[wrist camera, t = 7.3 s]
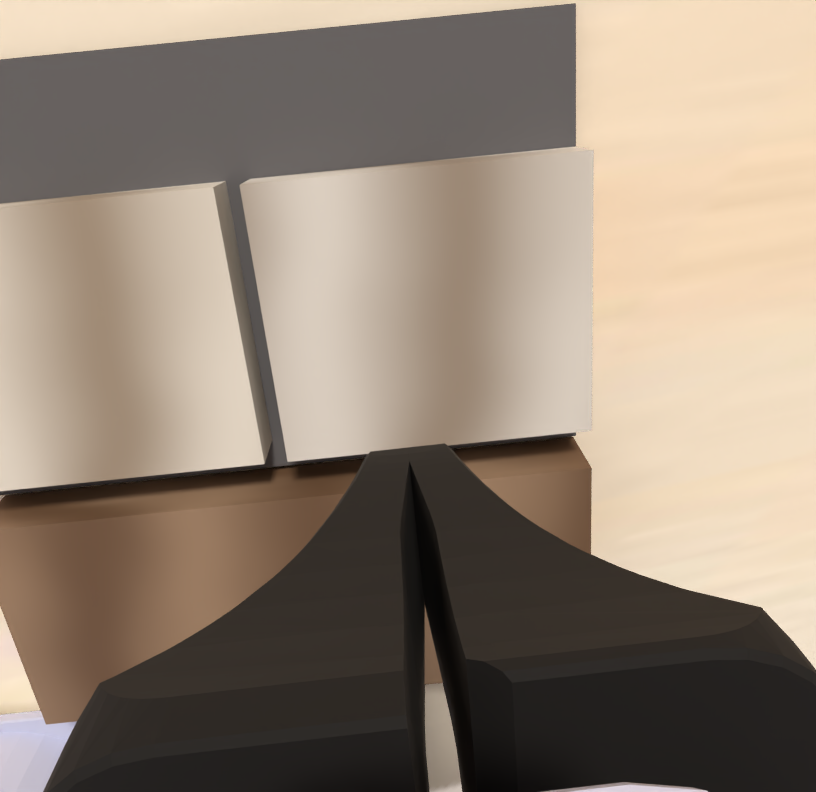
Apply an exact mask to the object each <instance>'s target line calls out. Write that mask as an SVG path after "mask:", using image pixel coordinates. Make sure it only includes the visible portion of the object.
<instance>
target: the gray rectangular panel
mask: <svg viewBox="0 0 816 792" xmlns="http://www.w3.org/2000/svg"><path fill="white" fill-rule="evenodd" d="M575 146H576V3H575V4H564V5H554V6H544V7H534V8H523V9H513V10H503V11H493V12H483V13H472V14H462V15H452V16H442V17H431V18H421V19H411V20H401V21H390V22H380V23H370V24H360V25H350V26H339V27H329V28H319V29H309V30H298V31H288V32H278V33H268V34H257V35H247V36H237V37H227V38H217V39H206V40H196V41H186V42H176V43H165V44H155V45H145V46H135V47H124V48H114V49H104V50H94V51H83V52H73V53H63V54H53V55H43V56H32V57H22V58H12V59H2V60H0V204H1V203H11V202H21V201H31V200H41V199H51V198H61V197H72V196H82V195H92V194H102V193H112V192H122V191H132V190H142V189H152V188H162V187H172V186H182V185H192V184H202V183H212V182H222V181H226V185H227V191H228V196H229V202H230V207H231V213H232V218H233V224H234V230H235V235H236V241H237V246H238V252H239V257H240V263H241V269H242V274H243V280H244V285H245V291H246V297H247V302H248V308H249V313H250V319H251V324H252V330H253V336H254V341H255V347H256V352H257V358H258V364H259V369H260V375H261V380H262V386H263V391H264V397H265V403H266V408H267V414H268V419H269V425H270V430H271V436H272V442H271V445H270V448H269V452H268V455H267V458H266V461H265V464H261V465H251V466H241V467H232V468H222V469H212V470H202V471H193V472H183V473H173V474H164V475H154V476H144V477H134V478H125V479H115V480H105V481H96V482H86V483H76V484H66V485H57V486H47V487H37V488H28V489H18V490H8V491H0V495H4V494H13V493H23V492H33V491H43V490H52V489H62V488H72V487H81V486H91V485H101V484H110V483H120V482H130V481H140V480H149V479H159V478H169V477H178V476H188V475H198V474H208V473H217V472H227V471H237V470H246V469H256V468H266V467H275V466H285V465H295V464H305V463H314V462H324V461H334V460H343V459H353V458H363V457H366V456H367V455H368V454H361V455H351V456H341V457H332V458H322V459H312V460H303V461H293V462H288V461H287V456H286V450H285V444H284V438H283V433H282V427H281V421H280V415H279V410H278V404H277V398H276V392H275V387H274V381H273V375H272V369H271V364H270V358H269V352H268V346H267V341H266V335H265V329H264V323H263V318H262V312H261V306H260V300H259V295H258V289H257V283H256V277H255V271H254V266H253V260H252V254H251V248H250V243H249V237H248V231H247V225H246V220H245V214H244V208H243V202H242V197H241V191H240V184H242V183H244V182H245V181H247V180H249V179H253V178H263V177H274V176H284V175H294V174H304V173H314V172H324V171H334V170H344V169H354V168H364V167H374V166H384V165H394V164H404V163H414V162H424V161H434V160H444V159H454V158H465V157H475V156H485V155H495V154H505V153H515V152H525V151H535V150H545V149H555V148H565V147H575ZM567 436H576V432H574V433H565V434H555V435H545V436H536V437H526V438H516V439H507V440H497V441H487V442H477V443H468V444H458V445H448V446H449V447H450V448H460V447H470V446H479V445H489V444H499V443H508V442H518V441H528V440H538V439H547V438H557V437H567Z"/></svg>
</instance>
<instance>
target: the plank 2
mask: <svg viewBox="0 0 816 792" xmlns="http://www.w3.org/2000/svg"><path fill="white" fill-rule="evenodd" d="M593 161H594V150H592V149H587V148H582V147H576V146H575V147H565V148H555V149H545V150H535V151H525V152H515V153H505V154H495V155H485V156H475V157H465V158H454V159H444V160H434V161H424V162H414V163H404V164H394V165H384V166H374V167H364V168H354V169H344V170H334V171H324V172H314V173H304V174H294V175H284V176H274V177H263V178H253V179H249V180H247V181H245V182H244V183H242V184H240V191H241V197H242V202H243V208H244V214H245V220H246V225H247V231H248V237H249V243H250V248H251V254H252V260H253V266H254V271H255V277H256V283H257V289H258V295H259V300H260V306H261V312H262V318H263V323H264V329H265V335H266V341H267V346H268V352H269V358H270V364H271V369H272V375H273V381H274V387H275V392H276V398H277V404H278V410H279V415H280V421H281V427H282V433H283V438H284V444H285V450H286V456H287V461H288V462H293V461H303V460H312V459H322V458H332V457H341V456H351V455H361V454H369V453H370V452H371V451H380V450H389V449H398V448H407V447H416V446H425V445H434V444H443V443H445V444H446V445H458V444H468V443H477V442H487V441H497V440H507V439H516V438H526V437H536V436H545V435H555V434H565V433H574V432H584V431H592V325H593Z"/></svg>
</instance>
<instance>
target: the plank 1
mask: <svg viewBox="0 0 816 792" xmlns="http://www.w3.org/2000/svg"><path fill="white" fill-rule="evenodd" d="M271 442H272V436H271V430H270V425H269V419H268V414H267V408H266V403H265V397H264V391H263V386H262V380H261V375H260V369H259V364H258V358H257V352H256V347H255V341H254V336H253V330H252V324H251V319H250V313H249V308H248V302H247V297H246V291H245V285H244V280H243V274H242V269H241V263H240V257H239V252H238V246H237V241H236V235H235V230H234V224H233V218H232V213H231V207H230V202H229V196H228V191H227V185H226V181H222V182H212V183H202V184H192V185H182V186H172V187H162V188H152V189H142V190H132V191H122V192H112V193H102V194H92V195H82V196H72V197H61V198H51V199H41V200H31V201H21V202H11V203H1V204H0V491H8V490H18V489H28V488H37V487H47V486H57V485H66V484H76V483H86V482H96V481H105V480H115V479H125V478H134V477H144V476H154V475H164V474H173V473H183V472H193V471H202V470H212V469H222V468H232V467H241V466H251V465H261V464H265V461H266V458H267V455H268V452H269V448H270V445H271Z"/></svg>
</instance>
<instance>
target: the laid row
mask: <svg viewBox="0 0 816 792" xmlns="http://www.w3.org/2000/svg"><path fill="white" fill-rule="evenodd" d="M453 451H454V452H455V453H456V455H457V456H458V457H459V458H460V459H461V460H462V461H463V463H464V464H465V465H466V466H467V467H468V468H469V469H470V470H471V471H472V472H473V473H474V474H475V475H476V476H477V477H478V478H479V479H480V480H481V481H482V482H483V483H484V484H485V485H487V486H488V487H489V488H490V489H491V490H492V491H493V492H494V493H496V494H497V495H498V496H499V497H500V498H501V499H502V500H504V501H505V502H506V503H507V504H508V505H510V506H511V507H512V508H513V509H515V510H516V511H517V512H519V513H520V514H521V515H523V516H524V517H526V518H527V519H529V520H530V521H532V522H533V523H535V524H536V525H538V526H539V527H541V528H543V529H544V530H546V531H548V532H549V533H551V534H553V535H555V536H556V537H558V538H560V539H561V540H563V541H565V542H567V543H569V544H570V545H572V546H574V547H576V548H578V549H580V550H582V551H584V552H587V553H589V554H591V470H592V468H591V466H590V465H589V463H588V461H587V460H586V458H585V456H584V455H583V453H582V451H581V450H580V448H579V446H578V445H577V443H576V441H575V440H574V438H573V437H571V438H561V439H551V440H541V441H532V442H522V443H512V444H503V445H493V446H483V447H474V448H464V449H454V450H453ZM363 460H364V459H357V460H347V461H338V462H328V463H318V464H309V465H299V466H289V467H279V468H270V469H260V470H250V471H241V472H231V473H221V474H212V475H202V476H192V477H182V478H173V479H163V480H153V481H144V482H134V483H124V484H115V485H105V486H95V487H85V488H76V489H66V490H56V491H47V492H37V493H27V494H17V495H8V496H5V497H4V498H3V499H2V500H1V501H0V606H1V609H2V612H3V614H4V617H5V619H6V622H7V625H8V627H9V630H10V632H11V635H12V638H13V640H14V643H15V645H16V648H17V651H18V653H19V656H20V658H21V661H22V664H23V666H24V669H25V671H26V674H27V677H28V679H29V682H30V684H31V687H32V690H33V692H34V695H35V697H36V700H37V703H38V705H39V708H40V710H41V713H42V716H43V718H44V721H45V723H46V725H47V724H57V723H66V722H76V721H77V720H78V719H79V717H80V715H81V714H82V712H83V710H84V709H85V707H86V705H87V704H88V702H89V700H90V699H91V697H92V695H93V693H94V692H95V690H96V688H97V686H98V685H99V683H101V682H103V681H105V680H107V679H110V678H112V677H114V676H116V675H118V674H120V673H122V672H124V671H126V670H128V669H130V668H132V667H134V666H136V665H138V664H140V663H142V662H144V661H146V660H148V659H150V658H152V657H154V656H156V655H158V654H160V653H162V652H164V651H166V650H167V649H169V648H171V647H173V646H175V645H176V644H178V643H180V642H182V641H183V640H185V639H187V638H188V637H190V636H192V635H193V634H195V633H197V632H198V631H200V630H201V629H203V628H205V627H206V626H208V625H210V624H211V623H213V622H214V621H216V620H217V619H219V618H220V617H222V616H223V615H225V614H226V613H228V612H229V611H230V610H232V609H233V608H235V607H236V606H237V605H239V604H240V603H241V602H242V601H244V600H245V599H246V598H248V597H249V596H250V595H251V594H253V593H254V592H255V591H256V590H258V589H259V588H260V587H261V586H263V585H264V584H265V583H267V582H268V581H269V580H270V579H272V578H273V577H274V576H275V575H276V574H277V573H279V572H280V571H281V570H282V569H283V568H284V567H285V566H286V565H287V564H288V563H289V562H290V561H291V560H292V559H293V558H294V557H295V556H296V555H297V554H298V553H299V552H300V551H301V550H302V549H303V548H304V547H305V545H306V544H307V543H308V542H309V541H310V540H311V538H312V537H313V536H314V535H315V533H316V532H317V531H318V530H319V528H320V527H321V526H322V525H323V523H324V522H325V521H326V520H327V518H328V517H329V516H330V514H331V513H332V512H333V510H334V509H335V507H336V506H337V504H338V503H339V501H340V500H341V498H342V497H343V495H344V494H345V492H346V491H347V489H348V488H349V486H350V484H351V483H352V481H353V479H354V478H355V476H356V474H357V472H358V470H359V469H360V467H361V465H362V463H363ZM424 603H425V602H424ZM434 683H443V682H442V677H441V673H440V669H439V664H438V660H437V656H436V651H435V647H434V643H433V639H432V634H431V630H430V625H429V621H428V617H427V612H426V608H425V684H434Z"/></svg>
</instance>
